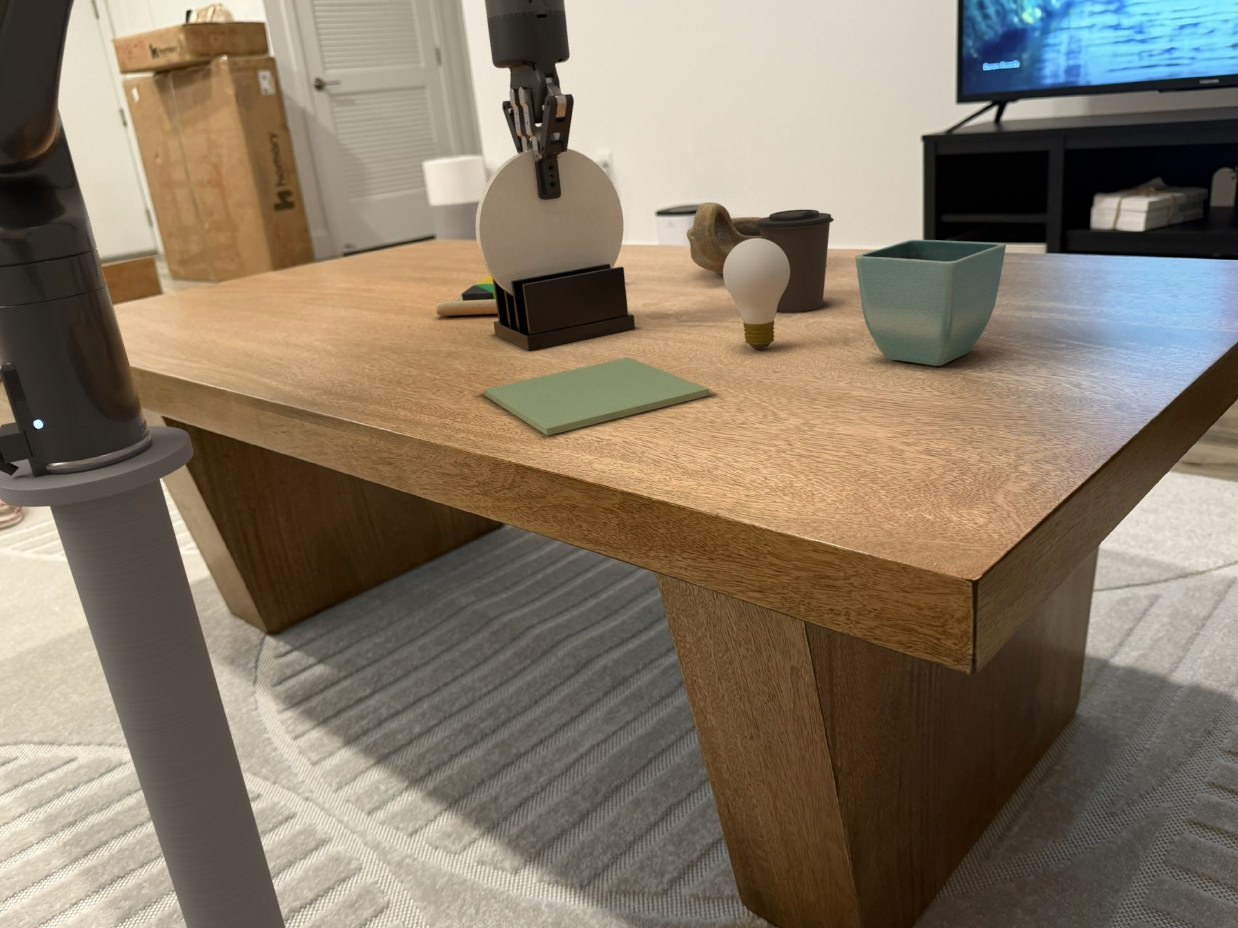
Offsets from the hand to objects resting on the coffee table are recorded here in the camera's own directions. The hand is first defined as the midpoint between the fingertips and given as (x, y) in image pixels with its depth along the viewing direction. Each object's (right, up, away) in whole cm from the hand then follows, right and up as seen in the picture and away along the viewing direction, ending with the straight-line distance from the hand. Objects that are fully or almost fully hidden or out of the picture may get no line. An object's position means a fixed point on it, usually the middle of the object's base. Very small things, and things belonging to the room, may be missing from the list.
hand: (546, 198), depth 100 cm
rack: (+1, -13, +5) cm, 14 cm away
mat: (+5, -21, -19) cm, 29 cm away
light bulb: (+20, -17, -10) cm, 28 cm away
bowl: (+22, -3, +26) cm, 34 cm away
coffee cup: (+26, -10, +5) cm, 29 cm away
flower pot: (+33, -18, -18) cm, 42 cm away
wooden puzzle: (-4, -7, +24) cm, 25 cm away
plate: (+1, -10, +4) cm, 11 cm away
